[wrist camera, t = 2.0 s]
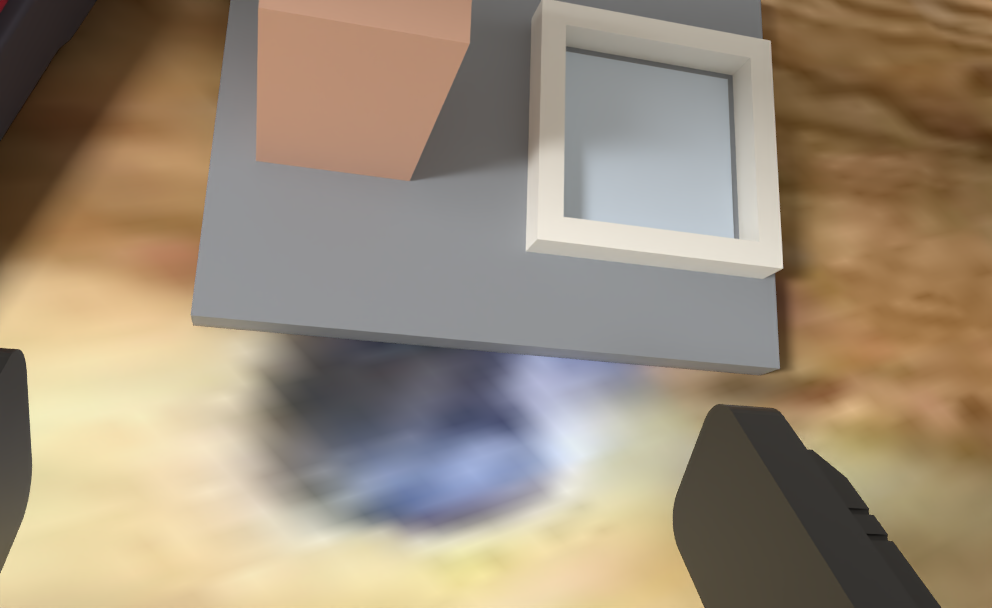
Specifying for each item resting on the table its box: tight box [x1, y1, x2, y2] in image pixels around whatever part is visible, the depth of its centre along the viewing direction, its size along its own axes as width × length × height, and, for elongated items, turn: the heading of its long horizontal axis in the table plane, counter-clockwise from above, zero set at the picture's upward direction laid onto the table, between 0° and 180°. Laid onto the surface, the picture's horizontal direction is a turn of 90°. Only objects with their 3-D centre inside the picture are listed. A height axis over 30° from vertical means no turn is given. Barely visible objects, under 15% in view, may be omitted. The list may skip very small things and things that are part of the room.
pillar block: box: [256, 0, 472, 181], centre depth 24 cm, size 4×4×8 cm
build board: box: [191, 0, 783, 375], centre depth 29 cm, size 18×14×2 cm
